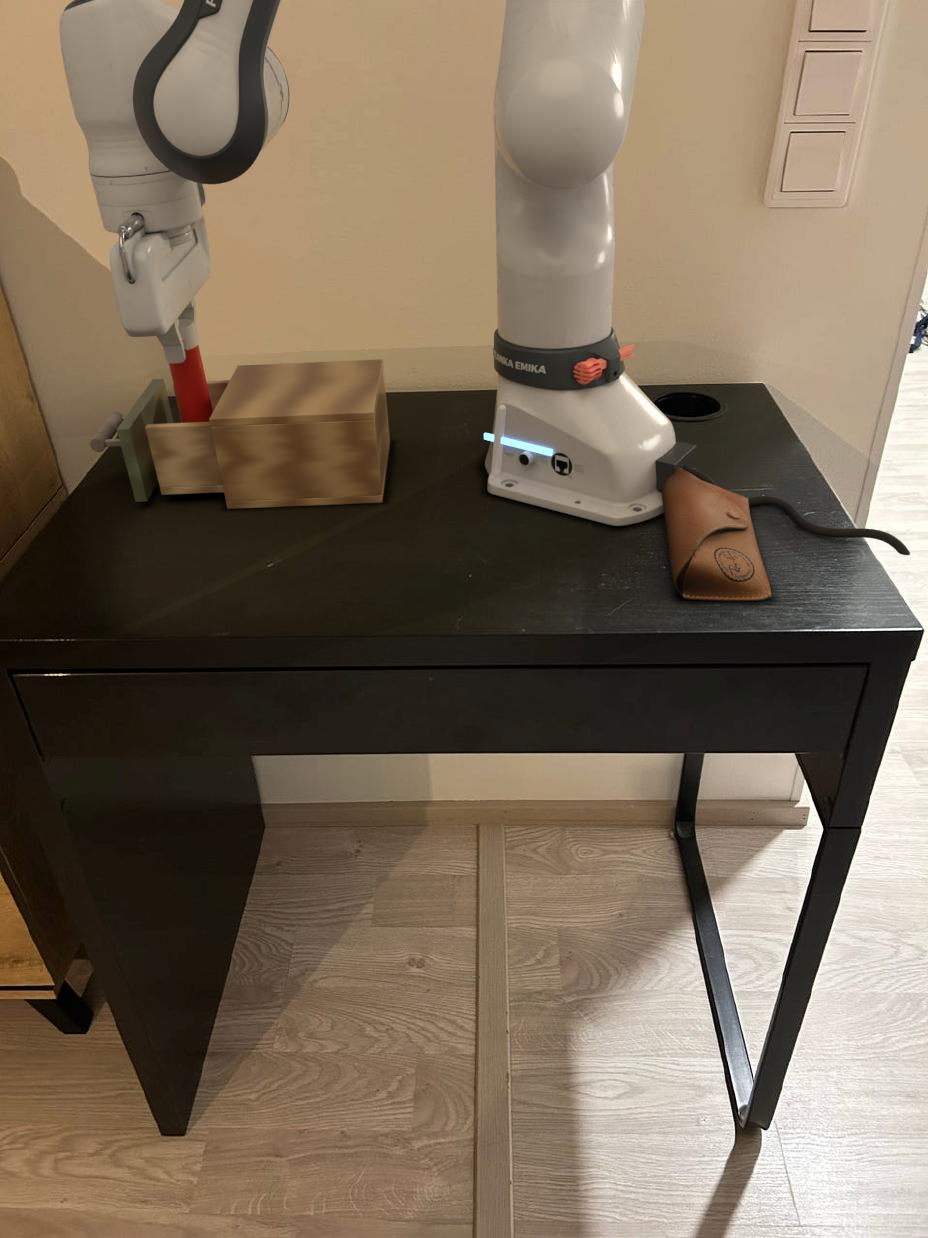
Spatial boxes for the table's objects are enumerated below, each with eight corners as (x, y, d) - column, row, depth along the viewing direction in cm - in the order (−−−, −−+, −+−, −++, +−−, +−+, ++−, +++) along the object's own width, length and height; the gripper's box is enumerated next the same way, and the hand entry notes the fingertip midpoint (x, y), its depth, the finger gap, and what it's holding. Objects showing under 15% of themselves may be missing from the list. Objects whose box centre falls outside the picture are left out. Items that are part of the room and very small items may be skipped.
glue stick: (220, 419, 98) (199, 322, 92) (193, 429, 96) (170, 331, 91) (203, 412, 100) (182, 316, 94) (177, 422, 98) (153, 325, 92)
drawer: (92, 503, 96) (71, 431, 91) (129, 447, 107) (112, 380, 102) (279, 496, 96) (267, 423, 91) (297, 440, 107) (287, 373, 102)
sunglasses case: (779, 597, 78) (746, 535, 75) (699, 631, 80) (664, 572, 77) (747, 495, 92) (718, 439, 89) (680, 526, 95) (650, 473, 92)
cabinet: (227, 509, 96) (208, 418, 90) (252, 447, 108) (237, 365, 102) (382, 502, 95) (373, 412, 90) (390, 442, 107) (382, 358, 102)
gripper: (154, 226, 78) (191, 389, 85) (207, 179, 94) (234, 319, 102) (77, 231, 78) (121, 393, 86) (144, 183, 95) (176, 322, 102)
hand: (183, 352), depth 94 cm, fingers closed on glue stick, 3 cm apart
